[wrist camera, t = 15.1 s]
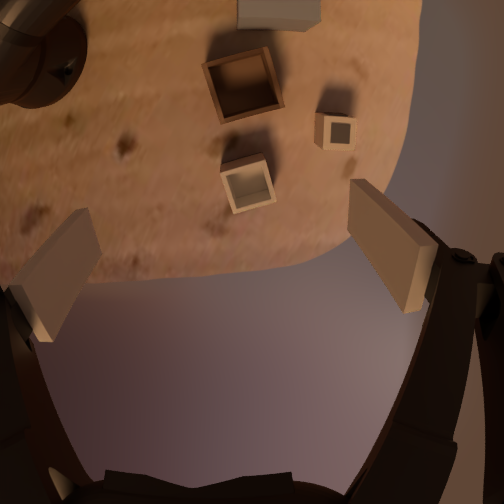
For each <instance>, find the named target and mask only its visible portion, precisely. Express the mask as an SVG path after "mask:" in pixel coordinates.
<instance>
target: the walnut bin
mask: <svg viewBox="0 0 504 504" xmlns="http://www.w3.org/2000/svg"><path fill="white" fill-rule="evenodd" d="M201 65H202V68H203V71H204V74H205V77H206V81H207V84H208V87H209V90H210V93H211V96H212V99H213V102H214V105H215V108H216V112H217V115H218V118H219V121H220V124H225V123H228V122H231V121H235V120H238V119H242V118H245V117H249V116H253V115H256V114H260V113H264V112H268V111H272V110H276V109H280V108H284V107H285V105H284V101H283V97H282V94H281V90H280V87H279V83H278V79H277V76H276V73H275V69H274V66H273V62H272V59H271V56H270V52H269V49H268V46H267V47H262V48H258V49H254V50H250V51H245V52H242V53H238V54H234V55H230V56H227V57H223V58H220V59H216V60H213V61H210V62H207V63H203V64H201Z"/></svg>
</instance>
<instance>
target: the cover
mask: <svg viewBox="0 0 504 504" xmlns="http://www.w3.org/2000/svg"><path fill="white" fill-rule="evenodd" d="M320 22H321V2H320V0H237V30H283V31H299V32H305V31H307V30H309V29H310V28H312V27H313V26H315V25H316V24H318V23H320Z"/></svg>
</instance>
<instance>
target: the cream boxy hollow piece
mask: <svg viewBox="0 0 504 504" xmlns="http://www.w3.org/2000/svg"><path fill="white" fill-rule="evenodd" d="M356 130H357V118H355V117H352V116H349V115H346V114H342V113H331V112H324V113H317V112H315V136H314V143H315V144H316V145H317V146H319V147H320V148H321V149H323V150H345V151H355V144H356Z"/></svg>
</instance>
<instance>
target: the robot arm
mask: <svg viewBox="0 0 504 504" xmlns="http://www.w3.org/2000/svg"><path fill="white" fill-rule="evenodd" d="M79 1H80V0H0V105H3V104H7V103H12V104H15V105H18V106H20V107H23V108H28V109H36V108H41V107H45V106H49V105H52V104H54V103H56V102H57V101H59V100H60V99H62V98H63V97H64V96H65V95H66V94H67V93H68V92H69V91H70V90H71V89H72V88H73V86H74V85H75V83H76V82H77V80H78V78H79V77H80V75H81V72H82V70H83V67H84V64H85V60H86V54H87V42H86V37H85V33H84V31H83V29H82V27H81V26H80V24H79V23H78V22H77V21H76V20H75V19H73V18H71V17H69V16H66V14H67V13H68V12H69V11H70V10H71V9H72V8H73V7H74V6H75V5H76V4H77V3H78V2H79ZM347 230H348V231H349V233H350V234H351V235H352V237H353V238H354V239H355V241H356V242H357V244H358V245H359V247H360V248H361V250H362V251H363V253H364V254H365V256H366V257H367V258H368V260H369V261H370V263H371V264H372V266H373V267H374V269H375V270H376V272H377V273H378V275H379V276H380V278H381V279H382V281H383V282H384V284H385V285H386V287H387V289H388V290H389V291H390V293H391V295H392V296H393V298H394V300H395V301H396V303H397V304H398V306H399V308H400V309H401V311H402V312H403V314H404V313H409V312H414V311H418V310H421V307H422V304H423V301H424V297H425V298H426V299H427V300H428V302H429V303H430V305H429V308H428V311H427V313H426V317H425V319H424V322H423V325H422V330H421V333H420V337H419V339H418V343H417V345H416V348H415V352H414V354H413V357H412V360H411V362H410V365H409V368H408V371H407V373H406V376H405V378H404V381H403V383H402V385H401V388H400V390H399V393H398V395H397V398H396V400H395V402H394V404H393V407H392V409H391V411H390V413H389V416H388V418H387V420H386V422H385V424H384V426H383V428H382V430H381V432H380V434H379V437H378V438H377V440H376V442H375V444H374V446H373V448H372V450H371V452H370V454H369V455H368V457H367V459H366V461H365V463H364V464H363V466H362V468H361V469H360V471H359V473H358V474H357V476H356V477H355V479H354V481H353V482H352V484H351V485H350V487H349V488H348V490H347V492H346V493H345V495H342V494H340V493H338V492H336V491H334V490H331V489H329V488H327V487H324V486H320V485H317V484H313V483H307V482H300V481H293V479H292V473H291V472H285V473H277V474H269V475H268V474H267V475H256V476H242V477H239V478H235V479H232V480H228V481H224V482H220V483H216V484H212V485H207V486H203V487H199V488H187V487H184V486H180V485H176V484H173V483H169V482H166V481H163V480H160V479H156V478H153V477H150V476H148V475H143V474H132V473H125V472H118V471H111V470H106V471H105V476H104V480H100V481H95V482H94V481H93V480H92V479H91V478H90V477H89V476H88V474H87V473H86V472H85V470H84V468H83V466H82V464H81V463H80V461H79V459H78V457H77V455H76V453H75V451H74V449H73V447H72V445H71V443H70V441H69V438H68V436H67V434H66V432H65V430H64V428H63V425H62V423H61V421H60V418H59V416H58V414H57V411H56V409H55V407H54V404H53V401H52V399H51V396H50V393H49V391H48V388H47V385H46V382H45V380H44V377H43V374H42V371H41V368H40V365H39V361H38V358H37V355H36V352H35V348H34V344H33V343H32V341H31V339H30V338H29V336H30V334H31V332H32V331H33V332H34V334H35V335H36V337H37V338H38V340H39V341H40V342H53V341H54V339H55V337H56V335H57V333H58V331H59V329H60V328H61V326H62V324H63V322H64V320H65V318H66V316H67V314H68V312H69V310H70V309H71V306H72V305H73V303H74V301H75V299H76V298H77V296H78V294H79V292H80V291H81V289H82V287H83V285H84V284H85V282H86V280H87V278H88V277H89V275H90V273H91V272H92V270H93V268H94V267H95V265H96V263H97V262H98V260H99V259H100V257H101V255H102V252H101V249H100V246H99V243H98V240H97V236H96V233H95V230H94V227H93V223H92V220H91V217H90V213H89V210H88V208H83V209H78V210H75V211H74V212H73V213H72V214H71V215H70V216H69V217H68V218H67V219H66V220H65V221H64V222H63V223H62V224H61V225H60V226H59V228H58V229H57V230H56V231H55V232H54V233H53V234H52V235H51V236H50V237H49V238H48V239H47V240H46V241H45V243H44V244H43V245H42V246H41V247H40V248H39V249H38V250H37V251H36V253H35V254H34V255H33V256H32V257H31V258H30V260H29V261H28V262H27V263H26V264H25V265H24V267H23V268H22V269H21V270H20V271H19V273H18V274H17V275H16V276H15V278H14V279H13V280H12V281H11V283H10V284H9V285H8V288H7V289H6V291H5V292H3V290H2V288H1V286H0V504H438V503H439V501H440V499H441V496H442V494H443V491H444V489H445V486H446V483H447V481H448V478H449V475H450V472H451V470H452V467H453V464H454V461H455V457H456V453H457V443H456V442H454V441H453V434H454V431H455V427H456V423H457V420H458V416H459V412H460V408H461V404H462V399H463V395H464V391H465V386H466V381H467V375H468V370H469V364H470V358H471V351H472V344H473V335H474V329H475V334H476V339H477V346H478V351H479V359H480V366H481V375H482V384H483V396H484V411H485V470H484V471H485V472H484V486H483V487H484V488H483V504H504V253H499V252H498V253H495V254H494V255H493V257H492V260H491V263H490V264H482V263H478V262H477V259H476V258H475V256H474V255H472V254H471V253H469V252H468V251H465V250H463V249H458V248H449V247H448V246H447V245H446V244H445V243H444V242H443V241H442V240H441V239H440V238H439V237H438V236H436V235H435V234H434V233H433V232H432V231H430V229H429V228H428V227H427V226H425V225H424V224H423V223H421V222H419V221H417V220H416V219H411V218H410V217H409V216H408V215H406V214H405V213H404V212H403V211H402V210H401V209H400V208H398V207H397V206H396V205H395V204H394V203H393V202H392V201H390V200H389V199H388V198H387V197H386V196H385V195H384V194H382V193H381V192H380V191H379V190H378V189H376V188H375V187H374V186H373V185H371V184H370V183H369V182H368V181H367V180H365V179H350V196H349V214H348V228H347Z"/></svg>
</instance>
